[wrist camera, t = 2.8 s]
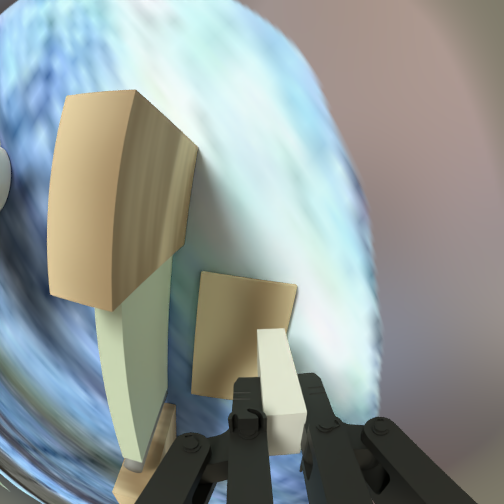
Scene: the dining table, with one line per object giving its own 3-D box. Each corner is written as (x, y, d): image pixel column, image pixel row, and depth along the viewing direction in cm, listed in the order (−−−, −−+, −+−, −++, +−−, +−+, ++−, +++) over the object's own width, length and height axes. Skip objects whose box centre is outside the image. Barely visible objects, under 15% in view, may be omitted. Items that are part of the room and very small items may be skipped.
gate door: (167, 397, 19) (143, 474, 11) (153, 394, 19) (125, 469, 11) (173, 253, 16) (118, 304, 9) (154, 250, 16) (90, 297, 8)
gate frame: (152, 434, 20) (127, 516, 11) (160, 143, 15) (66, 95, 5) (252, 450, 21) (256, 536, 11) (317, 166, 16) (410, 139, 6)
